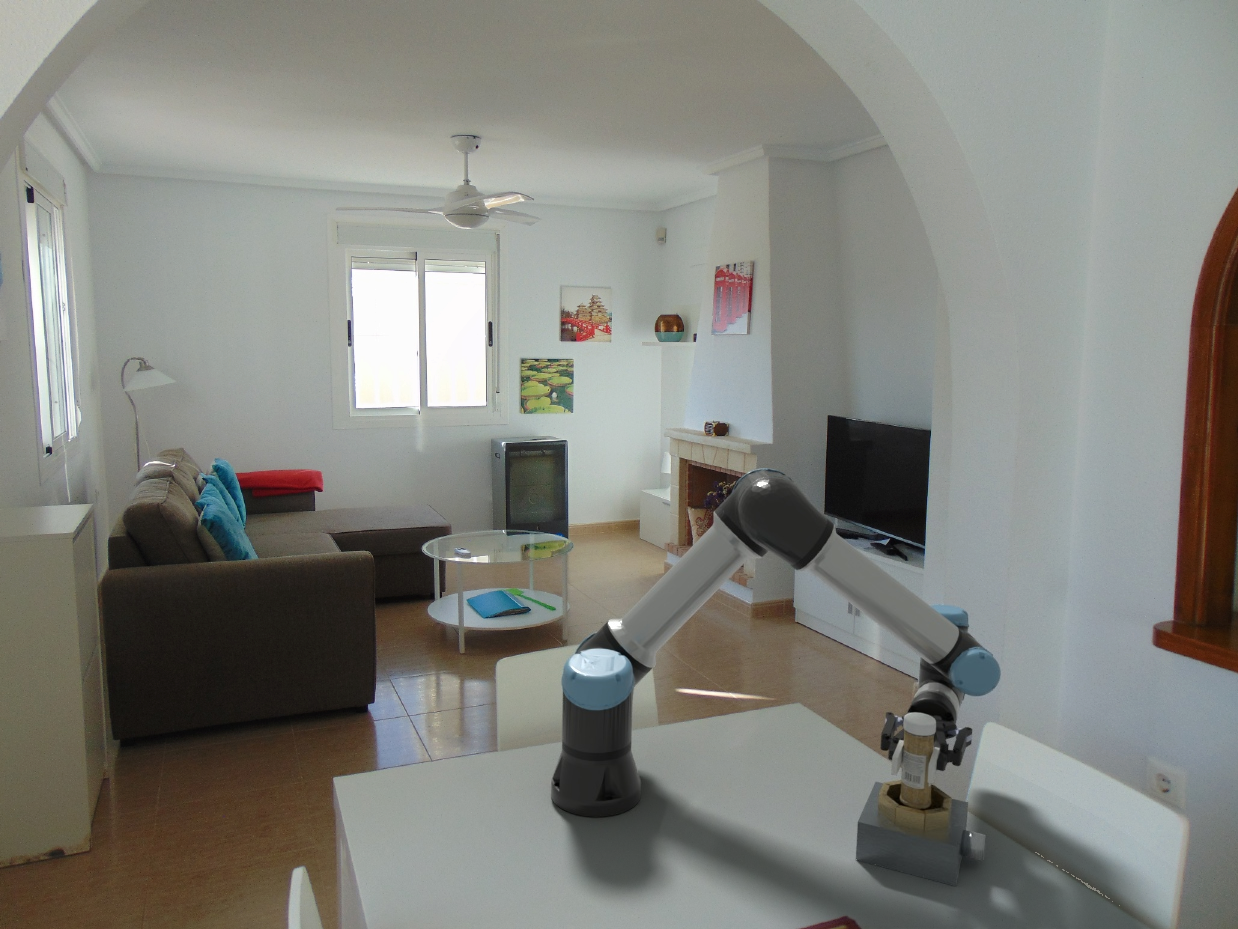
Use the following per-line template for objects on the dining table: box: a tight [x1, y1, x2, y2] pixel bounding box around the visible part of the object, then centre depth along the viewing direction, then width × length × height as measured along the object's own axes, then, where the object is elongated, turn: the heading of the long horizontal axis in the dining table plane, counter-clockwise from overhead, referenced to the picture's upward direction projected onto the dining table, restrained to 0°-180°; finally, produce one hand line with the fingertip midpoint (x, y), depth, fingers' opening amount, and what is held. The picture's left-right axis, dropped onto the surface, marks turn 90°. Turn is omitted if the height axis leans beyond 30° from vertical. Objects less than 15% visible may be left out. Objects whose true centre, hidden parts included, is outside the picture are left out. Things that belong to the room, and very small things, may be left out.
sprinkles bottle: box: [900, 713, 936, 809], centre depth 133 cm, size 5×5×13 cm
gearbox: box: [855, 779, 987, 887], centre depth 133 cm, size 17×14×8 cm
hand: (912, 770), depth 128 cm, fingers closed on sprinkles bottle, 4 cm apart
